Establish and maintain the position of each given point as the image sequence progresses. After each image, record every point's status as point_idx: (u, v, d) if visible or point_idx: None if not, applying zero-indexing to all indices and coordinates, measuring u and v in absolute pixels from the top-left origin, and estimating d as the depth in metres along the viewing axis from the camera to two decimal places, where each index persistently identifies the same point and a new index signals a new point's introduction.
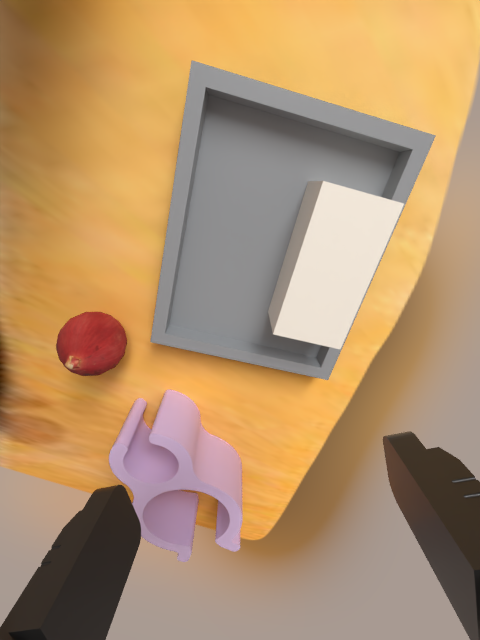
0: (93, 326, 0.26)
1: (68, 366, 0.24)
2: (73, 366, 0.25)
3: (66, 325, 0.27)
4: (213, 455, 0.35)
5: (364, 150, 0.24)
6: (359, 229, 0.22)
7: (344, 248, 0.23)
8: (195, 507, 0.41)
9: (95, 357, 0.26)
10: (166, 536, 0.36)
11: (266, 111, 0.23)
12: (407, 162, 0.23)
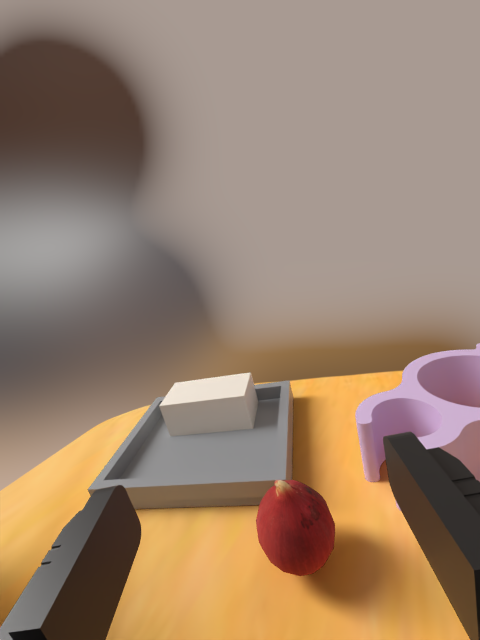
0: (259, 507, 0.24)
1: (281, 483, 0.22)
2: (281, 480, 0.22)
3: (265, 541, 0.22)
4: None
5: (160, 421, 0.47)
6: (184, 389, 0.44)
7: (192, 389, 0.43)
8: None
9: None
10: None
11: (129, 462, 0.39)
12: None
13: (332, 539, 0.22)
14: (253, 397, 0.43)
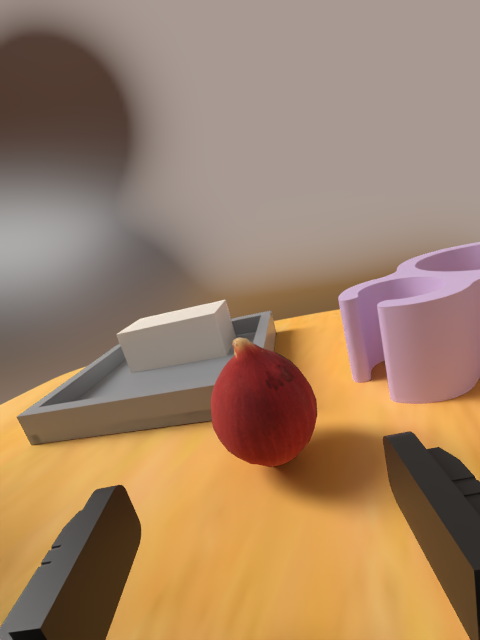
0: None
1: (240, 339, 0.16)
2: (241, 338, 0.16)
3: (218, 417, 0.15)
4: None
5: (123, 364, 0.40)
6: (148, 320, 0.38)
7: (157, 319, 0.37)
8: None
9: None
10: None
11: (77, 397, 0.33)
12: None
13: (312, 412, 0.15)
14: (228, 326, 0.37)
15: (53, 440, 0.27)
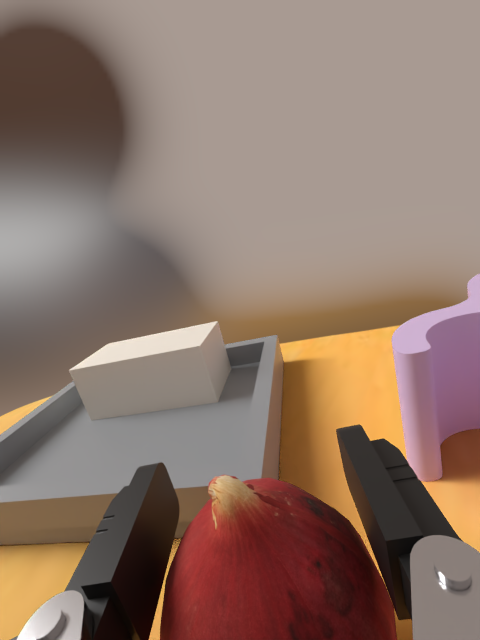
0: None
1: (226, 486, 0.07)
2: (228, 475, 0.07)
3: None
4: None
5: None
6: (115, 348, 0.29)
7: (127, 347, 0.28)
8: None
9: None
10: None
11: (10, 461, 0.24)
12: None
13: None
14: (221, 357, 0.28)
15: None
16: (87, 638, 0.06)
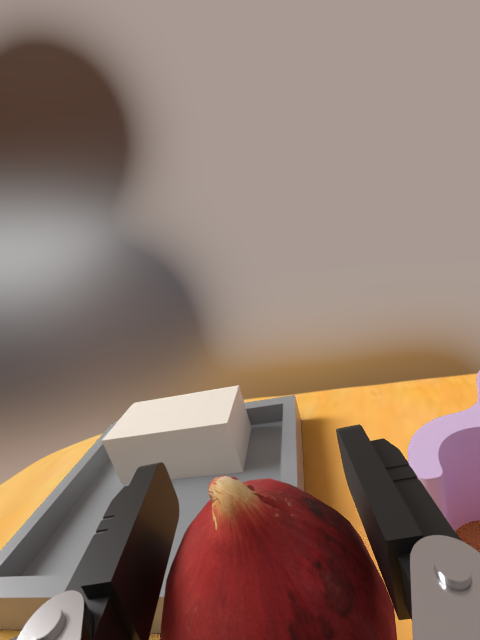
0: None
1: (227, 487, 0.07)
2: (228, 476, 0.07)
3: None
4: None
5: None
6: (142, 413, 0.30)
7: (154, 413, 0.30)
8: None
9: None
10: None
11: (51, 532, 0.25)
12: None
13: None
14: (243, 422, 0.29)
15: (10, 628, 0.20)
16: (87, 638, 0.06)
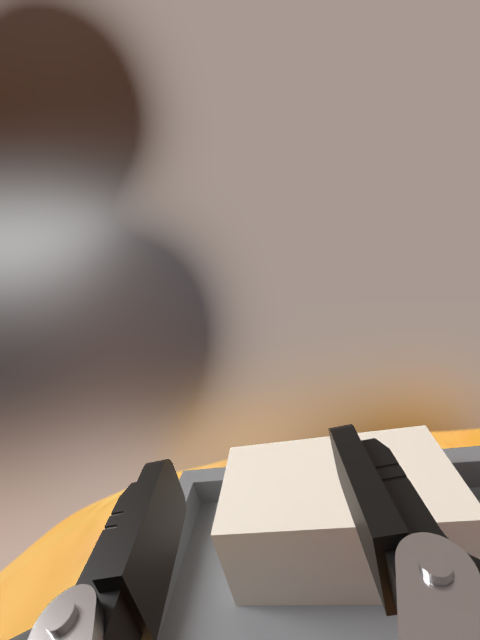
0: None
1: None
2: None
3: None
4: None
5: (197, 539, 0.20)
6: (263, 472, 0.18)
7: (289, 476, 0.17)
8: None
9: None
10: None
11: None
12: (204, 481, 0.22)
13: None
14: None
15: None
16: (100, 631, 0.06)
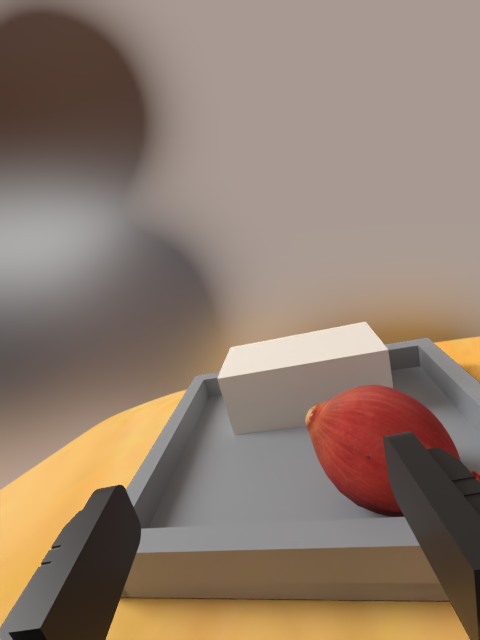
0: (428, 433, 0.13)
1: None
2: None
3: None
4: None
5: (207, 412, 0.28)
6: (252, 353, 0.26)
7: (270, 352, 0.25)
8: None
9: None
10: None
11: (166, 485, 0.20)
12: (211, 378, 0.30)
13: None
14: None
15: (152, 595, 0.15)
16: None
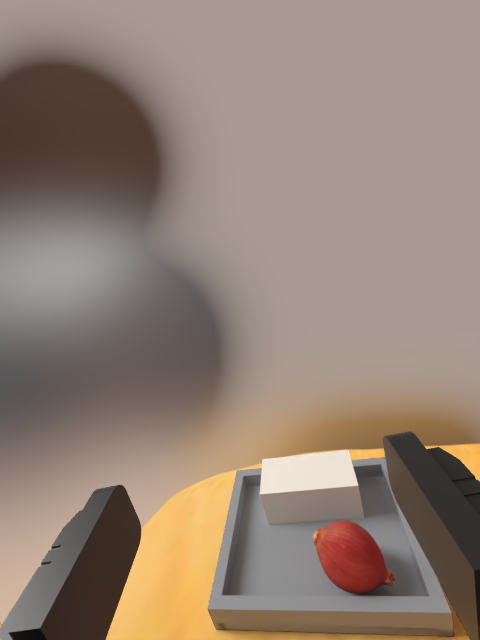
0: (369, 558, 0.29)
1: None
2: None
3: (356, 585, 0.28)
4: None
5: (247, 501, 0.44)
6: (278, 470, 0.41)
7: (289, 471, 0.41)
8: None
9: (382, 556, 0.30)
10: None
11: (233, 561, 0.36)
12: (249, 475, 0.46)
13: None
14: None
15: (239, 629, 0.31)
16: None
